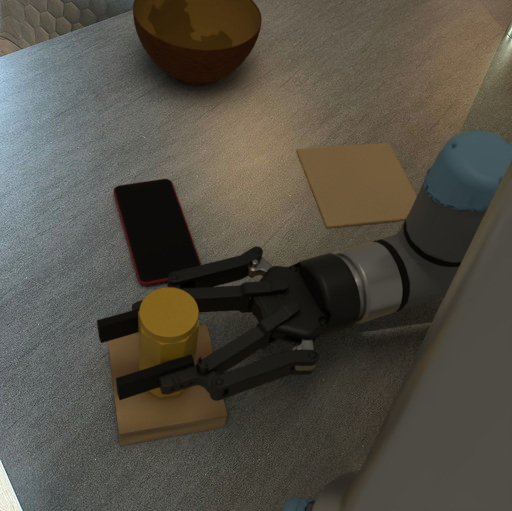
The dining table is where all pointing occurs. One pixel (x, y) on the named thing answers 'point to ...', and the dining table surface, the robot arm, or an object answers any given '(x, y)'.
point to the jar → (167, 329)
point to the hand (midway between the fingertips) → (108, 359)
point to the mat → (357, 184)
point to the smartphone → (155, 230)
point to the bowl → (197, 36)
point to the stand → (162, 399)
